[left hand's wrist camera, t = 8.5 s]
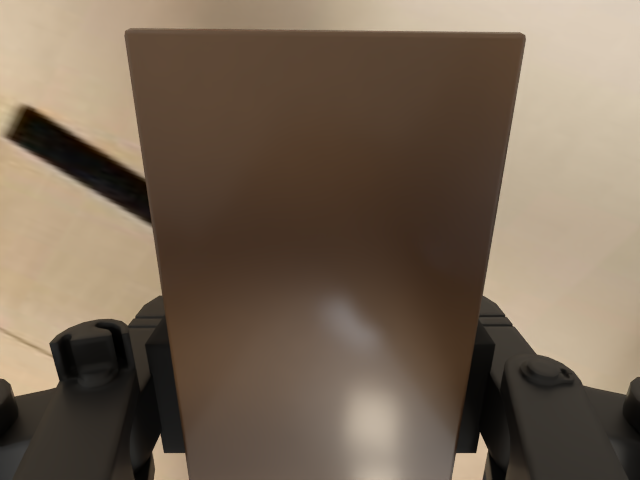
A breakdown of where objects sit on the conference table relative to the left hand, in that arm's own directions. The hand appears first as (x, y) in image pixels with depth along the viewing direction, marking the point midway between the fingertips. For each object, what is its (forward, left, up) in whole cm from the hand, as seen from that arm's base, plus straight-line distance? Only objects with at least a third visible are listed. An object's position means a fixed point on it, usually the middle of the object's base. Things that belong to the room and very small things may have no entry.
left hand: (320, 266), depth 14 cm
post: (+10, +32, 0) cm, 33 cm away
